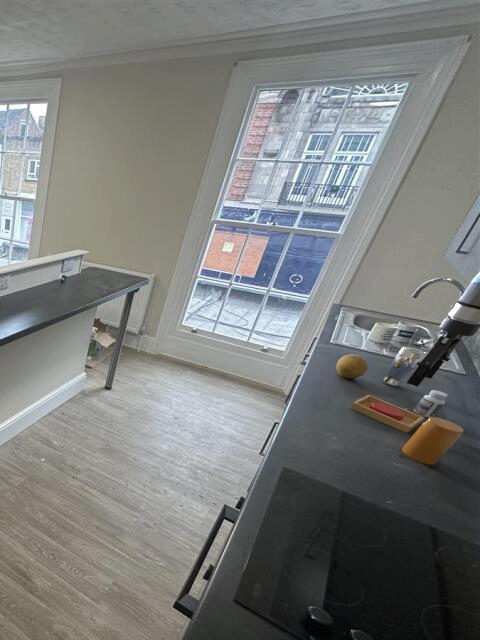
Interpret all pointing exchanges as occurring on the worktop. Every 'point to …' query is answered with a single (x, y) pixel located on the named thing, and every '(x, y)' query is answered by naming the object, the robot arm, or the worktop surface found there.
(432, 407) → the pill bottle
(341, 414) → the worktop surface
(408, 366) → the beer glass
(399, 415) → the lid
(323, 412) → the worktop surface
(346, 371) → the potato
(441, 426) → the jam jar
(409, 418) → the tray
